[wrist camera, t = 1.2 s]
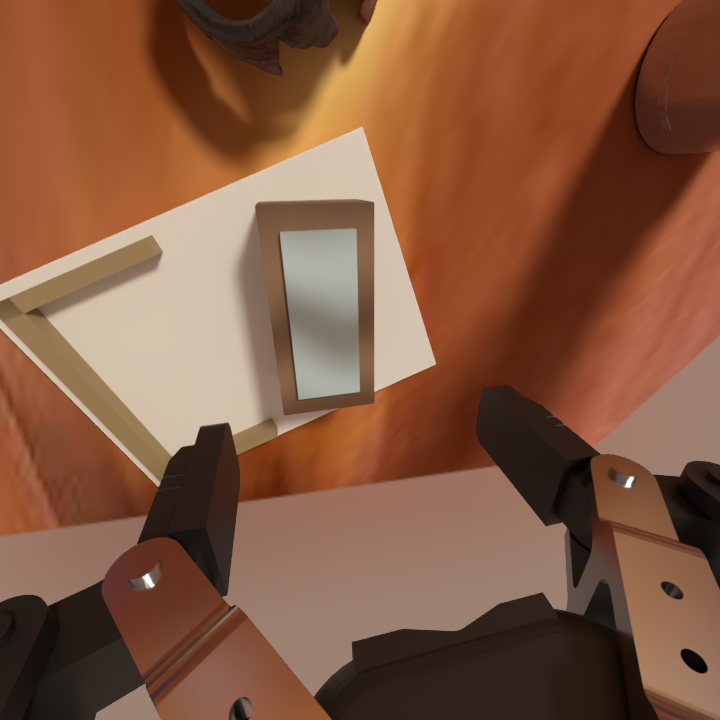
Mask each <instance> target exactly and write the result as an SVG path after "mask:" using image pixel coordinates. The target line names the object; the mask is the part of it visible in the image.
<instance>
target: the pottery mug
mask: <svg viewBox="0 0 720 720" xmlns="http://www.w3.org/2000/svg"><path fill="white" fill-rule="evenodd" d="M175 1H176V3H177V4H178V5H179V6H180V8H181V9H182V10H183V11H184V12H186V13H187V14H188V16H189V17H190V19H191V20H192V21H193V22H194V23H195V24H196V25H197V26H198V27H199V28H200V29H201V30H202V31H203V32H204V33H205V34H206V35H207V36H208V37H209V38H210V39H214V40H215V42H216V43H217V44H218V46H219V47H220V48H221V49H222V50H223V51H224V52H226V53H228V54H229V55H231V56H233V57H235V58H238V59H240V60H242V61H246V62H248V63H250V64H252V65H254V66H256V67H258V68H261V69H263V70H265V71H266V72H269V73H271V74H274V75H278V76H281V75H282V69H281V67H280V65H279V41H283V42H285V43H286V44H287V45H289V46H291V47H292V48H299V49H306V48H309V47H311V46H317V47H320V48H325V47H327V46H328V45H329V44H330V42H331V41H332V40H333V39H334V38H335V37H336V35H337V34H338V32H339V29H340V24H339V22H338V21H337V19H336V18H335V17H334V15H333V14H332V13H331V4H330V0H271V2H270V3H269V4H268V5H267V6H266V7H265V8H264V9H263V10H262V11H261V12H260V13H258V14H257V15H256V16H255V17H254V18H249V19H247V20H231V19H228V18H226V17H223V16H222V15H220V14H218V13H216V12H215V11H214V10H213V9H211V8H210V7H209V6H208V5H207V4H206V3H205V2H204V1H203V0H175ZM376 3H377V0H363V1H362V4H361V7H360V10H359V13H358V17H359V19H360V20H361V21H362V22H363V23H364V24H366V25H367V24H368V23H369V22H370V21H371V18H372V15H373V12H374V10H375V6H376Z"/></svg>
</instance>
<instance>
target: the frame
mask: <svg viewBox="0 0 720 720" xmlns="http://www.w3.org/2000/svg"><path fill="white" fill-rule="evenodd" d="M255 210H256V217H257V225H258V232H259V239H260V246H261V254H262V261H263V268H264V275H265V282H266V290H267V297H268V304H269V311H270V318H271V326H272V333H273V340H274V347H275V355H276V362H277V369H278V376H279V383H280V391H281V398H282V405H283V412H284V416H285V415H292V414H300V413H307V412H314V411H322V410H329V409H336V408H343V407H351V406H358V405H365V404H373V403H374V202H371V201H365V200H359V199H333V200H298V201H263V202H258V203H257V204H256V205H255Z"/></svg>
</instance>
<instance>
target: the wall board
mask: <svg viewBox="0 0 720 720" xmlns="http://www.w3.org/2000/svg"><path fill="white" fill-rule="evenodd" d="M333 199H359V200H365V201H371V202H374V392H376V391H378V390H380V389H382V388H385V387H387V386H389V385H391V384H393V383H396V382H398V381H400V380H402V379H405V378H407V377H409V376H411V375H413V374H416V373H418V372H420V371H422V370H425V369H427V368H429V367H431V366H433V365H436V362H435V359H434V356H433V352H432V349H431V346H430V343H429V340H428V336H427V333H426V330H425V327H424V323H423V320H422V317H421V314H420V310H419V307H418V304H417V301H416V298H415V294H414V291H413V288H412V285H411V281H410V278H409V275H408V272H407V269H406V265H405V262H404V259H403V256H402V252H401V249H400V246H399V243H398V240H397V236H396V233H395V230H394V227H393V223H392V220H391V217H390V214H389V211H388V207H387V204H386V201H385V198H384V194H383V191H382V188H381V185H380V182H379V178H378V175H377V172H376V169H375V165H374V162H373V159H372V156H371V153H370V149H369V146H368V143H367V140H366V136H365V133H364V130H363V127H360V128H358V129H356V130H353V131H351V132H349V133H346V134H344V135H342V136H340V137H337V138H335V139H333V140H330V141H328V142H326V143H323V144H321V145H319V146H317V147H314V148H312V149H310V150H307V151H305V152H303V153H301V154H298V155H296V156H294V157H291V158H289V159H287V160H285V161H282V162H280V163H278V164H275V165H273V166H271V167H269V168H266V169H264V170H262V171H259V172H257V173H255V174H252V175H250V176H248V177H246V178H243V179H241V180H239V181H236V182H234V183H232V184H230V185H227V186H225V187H223V188H220V189H218V190H216V191H214V192H211V193H209V194H207V195H204V196H202V197H200V198H197V199H195V200H193V201H191V202H188V203H186V204H184V205H181V206H179V207H177V208H175V209H172V210H170V211H168V212H165V213H163V214H161V215H159V216H156V217H154V218H152V219H149V220H147V221H145V222H143V223H140V224H138V225H136V226H133V227H131V228H129V229H126V230H124V231H122V232H120V233H117V234H115V235H113V236H110V237H108V238H106V239H104V240H101V241H99V242H97V243H94V244H92V245H90V246H88V247H85V248H83V249H81V250H78V251H76V252H74V253H71V254H69V255H67V256H65V257H62V258H60V259H58V260H55V261H53V262H51V263H49V264H46V265H44V266H42V267H39V268H37V269H35V270H33V271H30V272H28V273H26V274H23V275H21V276H19V277H17V278H14V279H12V280H10V281H7V282H5V283H3V284H0V329H1V330H2V331H3V332H4V333H5V334H6V335H7V336H8V337H9V338H10V339H11V340H12V341H13V342H14V343H15V344H16V345H17V346H18V347H19V348H20V349H21V350H22V351H23V352H24V353H25V354H26V355H27V356H28V357H29V358H30V359H31V360H32V361H33V362H34V363H35V364H36V365H37V366H38V367H39V368H40V369H41V370H42V371H43V372H44V373H45V374H46V375H47V376H48V377H49V378H50V379H51V380H52V381H53V382H54V383H55V384H56V385H57V386H58V387H59V388H60V389H61V390H62V391H63V392H64V393H65V394H66V395H67V396H68V397H69V398H70V399H71V400H72V401H73V402H74V403H75V404H76V405H77V406H78V407H79V408H80V409H81V410H82V411H83V412H84V413H85V414H86V415H87V416H88V417H89V418H90V419H91V420H92V421H93V422H94V423H95V424H96V425H97V426H98V427H99V428H100V429H101V430H102V431H103V432H104V433H105V434H106V435H107V436H108V437H109V438H110V439H111V440H112V441H113V442H114V443H115V444H116V445H117V446H118V447H119V448H120V449H121V450H122V451H123V452H124V453H125V454H126V455H127V456H128V457H129V458H130V459H131V460H132V461H133V462H134V463H135V464H136V465H137V466H138V467H139V468H140V469H141V470H142V471H143V472H144V473H145V474H146V475H147V476H148V477H149V478H150V479H151V480H152V481H153V482H154V483H155V484H156V485H157V486H158V487H159V485H160V483H161V480H162V479H163V475H164V472H165V469H166V467H167V464H168V462H169V460H170V459H171V458H172V457H173V456H174V455H175V454H176V452H177V451H178V450H179V449H180V448H181V447H184V446H191V445H195V441H196V438H197V435H198V431H199V428H200V427H201V426H205V425H212V424H220V423H227V422H228V423H229V424H230V427H231V431H232V436H233V440H234V444H235V449H236V453H237V455H238V454H240V453H243V452H245V451H247V450H249V449H251V448H254V447H256V446H258V445H260V444H263V443H265V442H267V441H269V440H271V439H274V438H276V437H278V435H280V434H283V433H285V432H287V431H289V430H292V429H294V428H296V427H298V426H300V425H303V424H305V423H307V422H309V421H311V420H314V419H316V418H318V417H320V416H323V415H325V414H327V413H329V412H331V411H334V410H336V409H338V408H336V409H329V410H322V411H314V412H307V413H300V414H292V415H285V416H284V412H283V405H282V398H281V391H280V383H279V376H278V369H277V362H276V355H275V347H274V340H273V333H272V326H271V318H270V311H269V304H268V297H267V290H266V282H265V275H264V268H263V261H262V254H261V246H260V239H259V232H258V225H257V217H256V210H255V205H256V204H257V203H258V202H263V201H298V200H333Z"/></svg>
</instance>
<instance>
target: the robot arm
mask: <svg viewBox="0 0 720 720" xmlns="http://www.w3.org/2000/svg"><path fill="white" fill-rule="evenodd" d="M635 111H636V121H637V124H638V128H639V132H640V134H641V135H642V137H643V139H644V141H645V142H646V143H647V144H648V145H649V146H650V147H651V148H652V149H653V150H655V151H657V152H660V153H662V154H672V155H674V154H688V153H701V152H714V151H720V0H683V1H682V2H681V3H680V4H679V5H678V6H677V7H676V8H675V9H674V10H673V11H672V12H671V13H670V15H669V16H668V17H667V19H666V20H665V22H664V23H663V24H662V26H661V27H660V28H659V30H658V32H657V34H656V35H655V37H654V39H653V41H652V43H651V45H650V46H649V48H648V51H647V54H646V56H645V59H644V61H643V64H642V66H641V70H640V74H639V78H638V82H637V88H636V98H635ZM476 432H477V437H478V440H479V442H480V444H481V445H482V446H483V448H484V449H485V450H486V451H487V453H488V454H489V455H490V457H491V458H492V459H493V460H494V462H495V463H496V464H497V465H498V467H499V468H500V469H501V470H502V471H503V473H504V474H505V475H506V477H507V478H508V479H509V480H510V482H511V483H512V484H513V485H514V487H515V488H516V489H517V490H518V492H519V493H520V494H521V496H522V497H523V498H524V499H525V501H526V502H527V503H528V504H529V506H530V507H531V508H532V509H533V511H534V512H535V513H536V514H537V516H538V517H539V518H540V519H541V521H542V522H543V523H544V524H545V526H549V525H553V524H557V523H562V522H563V523H564V524H565V525H566V527H567V530H566V533H565V555H566V574H567V592H568V601H567V609H566V611H563V610H558V609H553V607H552V606H551V604H550V603H549V601H548V600H547V598H546V597H545V595H544V594H543V593H539V594H535V595H531V596H527V597H524V598H520V599H516V600H512V601H509V602H504V603H501V604H498V605H497V606H495V607H494V608H492V609H491V610H490V611H488V612H487V613H485V614H484V615H482V616H481V617H479V618H478V619H476V620H475V621H473V622H472V623H471V624H469V625H468V626H466V627H465V628H463V629H461V630H458V631H436V630H413V629H412V630H411V629H401V630H397V631H393V632H390V633H386V634H382V635H378V636H374V637H370V638H367V639H362V640H359V641H355V642H352V656H353V660H352V661H351V662H349V663H348V664H346V665H345V666H343V667H342V668H341V669H339V670H338V671H337V672H336V673H335V674H334V675H332V676H331V677H330V678H329V679H328V681H327V682H326V683H325V684H324V685H323V686H322V687H321V688H320V690H319V691H318V692H317V693H316V695H315V696H314V697H313V696H312V695H311V694H310V692H309V691H308V690H307V689H306V687H305V686H304V685H303V684H302V683H301V681H300V680H299V679H298V678H297V676H296V675H295V674H294V673H293V672H292V670H291V669H290V668H289V667H288V665H287V664H286V663H285V662H284V661H283V659H282V658H281V657H280V656H279V654H278V653H277V652H276V651H275V650H274V648H273V647H272V646H271V645H270V643H269V642H268V641H267V640H266V638H265V637H264V636H263V635H262V633H261V632H260V631H259V630H258V629H257V627H256V626H255V625H254V624H253V622H251V620H250V619H249V618H248V616H247V615H246V614H245V613H244V612H243V611H242V610H241V609H240V608H239V607H238V606H236V605H234V606H232V607H230V606H229V605H228V604H227V603H226V601H225V600H224V599H223V598H222V597H223V596H227V592H228V585H229V576H230V567H231V558H232V549H233V541H234V532H235V523H236V514H237V506H238V497H239V488H240V469H239V462H238V458H237V453H236V449H235V444H234V440H233V436H232V431H231V427H230V424H229V423H228V422H227V423H220V424H212V425H205V426H201V427H200V428H199V431H198V435H197V438H196V441H195V445H191V446H184V447H181V448H180V449H179V450H178V451H177V452H176V454H175V455H174V456H173V457H172V458H171V459H170V460H169V462H168V464H167V467H166V469H165V472H164V475H163V479H162V480H161V483H160V485H159V488H158V492H157V493H156V496H155V498H154V501H153V504H152V506H151V509H150V511H149V514H148V517H147V519H146V522H145V525H144V528H143V530H142V532H141V535H140V538H139V541H138V543H137V545H135V546H134V547H132V548H130V549H129V550H128V551H126V552H125V553H124V554H123V555H121V556H120V557H119V558H118V559H117V560H116V561H115V563H113V565H112V566H111V567H110V569H109V570H108V572H107V574H106V575H105V578H104V579H103V580H102V581H100V582H98V583H97V584H95V585H93V586H91V587H88V588H86V589H84V590H82V591H80V592H78V593H75V594H73V595H71V596H69V597H67V598H65V599H62V600H60V601H58V602H56V603H54V604H52V605H49V606H47V604H46V603H45V602H44V601H43V599H42V598H40V597H38V596H35V595H21V596H16V597H13V598H10V599H7V600H5V601H2V602H0V720H95V716H96V713H97V712H98V711H100V710H102V709H103V708H105V707H107V706H108V705H110V704H112V703H113V702H115V701H117V700H118V699H120V698H122V697H123V696H125V695H126V694H128V693H130V692H132V691H133V690H135V689H136V688H138V687H140V686H141V685H143V684H146V689H147V691H148V693H149V696H150V698H151V700H152V702H153V704H154V706H155V708H156V710H157V712H158V714H159V716H160V718H161V720H720V465H718V464H715V463H711V462H705V461H693V462H690V463H688V464H687V465H686V466H685V468H684V470H683V472H682V474H681V476H680V477H676V476H664V475H652V474H651V473H650V472H649V471H648V470H647V469H646V468H644V467H643V466H641V465H640V464H638V463H636V462H634V461H632V460H630V459H627V458H624V457H621V456H617V455H610V454H602V455H601V454H600V453H598V452H597V451H596V450H594V448H592V447H591V446H590V445H589V444H588V443H586V442H585V441H584V440H583V439H581V438H580V437H579V436H578V435H577V434H575V433H574V432H573V431H572V430H571V429H569V428H568V427H567V426H564V425H563V423H562V422H561V421H560V420H559V419H557V418H556V417H553V415H552V414H551V413H550V412H549V411H548V410H546V409H545V408H544V407H543V406H542V405H540V404H538V403H536V402H534V401H532V400H529V399H527V398H524V397H523V396H521V395H520V394H519V393H518V392H517V391H516V390H514V389H513V388H512V387H511V386H509V385H502V386H495V387H488V388H484V389H483V391H482V394H481V399H480V406H479V412H478V418H477V424H476Z"/></svg>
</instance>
